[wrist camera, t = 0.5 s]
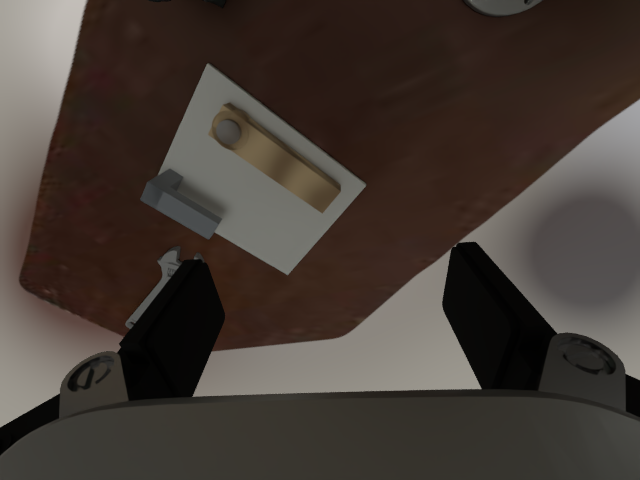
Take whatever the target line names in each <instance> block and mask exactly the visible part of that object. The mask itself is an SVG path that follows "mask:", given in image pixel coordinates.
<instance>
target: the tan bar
mask: <svg viewBox="0 0 640 480" xmlns="http://www.w3.org/2000/svg"><path fill="white" fill-rule="evenodd" d="M208 135H209V136H210V137H212V138H213V139H215V140H216V141H217V142H218V143H219V144H220V145H221V146H222V147H224V148H226V149H229V150H231V151H232V152H234V153H235V154H237V155H238V156H239V157H241V158H242V159H244V160H245V161H247V162H248V163H250V164H251V165H253V166H254V167H255V168H257V169H258V170H260V171H261V172H263V173H264V174H266V175H267V176H268V177H270V178H271V179H273V180H274V181H276V182H277V183H279V184H280V185H282V186H283V187H284V188H286V189H287V190H289V191H290V192H292V193H293V194H295V195H296V196H297V197H299V198H300V199H302V200H303V201H305V202H306V203H308V204H309V205H311V206H312V207H313V208H315V209H316V210H318V211H319V212H321V213H322V214H323V212H324V211H325V210H326V209H327V208H328V206H329V205H330V204H331V203H332V202H333V200H334V199H335V198H336V197H337V196H338V194H339V193H340V192H341V185H340V184H339V183H337V182H336V181H335V180H333V179H332V178H331V177H329V176H328V175H327V174H325V173H324V172H323V171H321V170H320V169H319V168H317V167H316V166H314V165H313V164H312V163H310V162H309V161H308V160H306V159H305V158H304V157H302V156H301V155H300V154H298V153H297V152H296V151H294V150H293V149H292V148H290V147H289V146H288V145H286V144H285V143H284V142H282V141H281V140H279V139H278V138H277V137H275V136H274V135H273V134H271V133H270V132H269V131H267V130H266V129H265V128H263V127H262V126H261V125H259V124H258V123H257V122H255V121H254V120H253V119H251V118H250V116H249V115H248V114H247V113H246V112H244V111H243V110H241V109H238V108H236V107H235V106H234V105H232V104H231V103H227V104H223V105H222V107H221V109H220V111H219V113H218V114H217V115H216V116H215V117H214V119H213V121H212V127H211V129H210V131H209V133H208Z"/></svg>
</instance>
